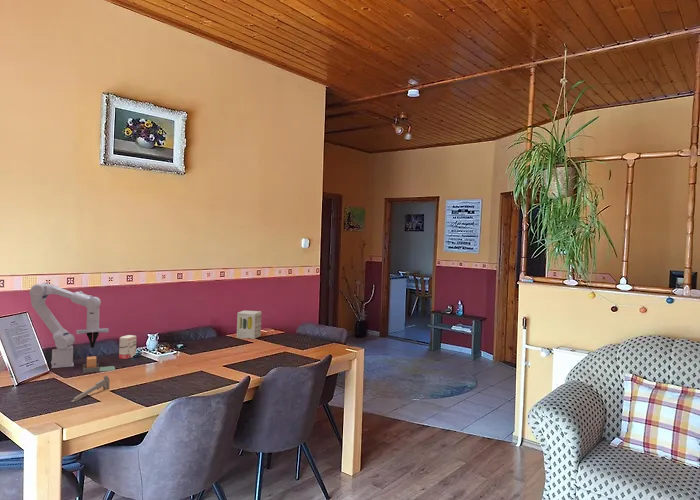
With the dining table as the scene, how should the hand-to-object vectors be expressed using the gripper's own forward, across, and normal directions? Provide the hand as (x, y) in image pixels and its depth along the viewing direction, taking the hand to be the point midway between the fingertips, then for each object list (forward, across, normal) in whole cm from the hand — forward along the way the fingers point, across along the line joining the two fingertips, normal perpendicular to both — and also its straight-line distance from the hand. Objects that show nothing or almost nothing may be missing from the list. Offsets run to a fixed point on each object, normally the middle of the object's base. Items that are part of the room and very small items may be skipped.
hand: (92, 347), depth 251 cm
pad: (+9, +6, -11) cm, 16 cm away
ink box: (+10, +18, +12) cm, 24 cm away
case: (+9, -1, -8) cm, 12 cm away
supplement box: (+10, +99, +48) cm, 110 cm away
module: (+9, -1, -11) cm, 14 cm away
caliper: (+10, -2, -52) cm, 53 cm away
